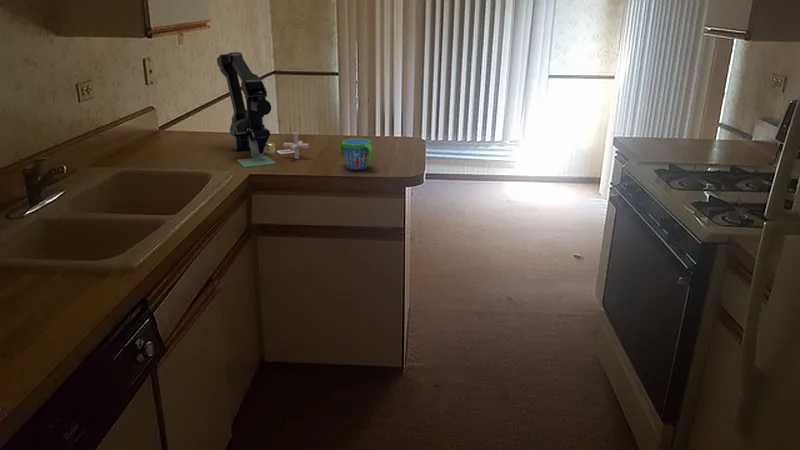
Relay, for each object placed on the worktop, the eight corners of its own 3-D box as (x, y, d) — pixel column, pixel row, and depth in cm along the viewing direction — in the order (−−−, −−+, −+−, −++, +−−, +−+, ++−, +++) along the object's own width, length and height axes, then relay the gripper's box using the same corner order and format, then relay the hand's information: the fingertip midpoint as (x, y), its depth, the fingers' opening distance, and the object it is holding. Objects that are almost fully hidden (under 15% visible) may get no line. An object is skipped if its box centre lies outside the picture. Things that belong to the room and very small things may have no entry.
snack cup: (333, 166, 231) (331, 140, 228) (354, 162, 238) (354, 135, 235) (360, 175, 221) (359, 146, 217) (382, 169, 228) (381, 142, 224)
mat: (236, 160, 240) (236, 159, 240) (267, 157, 246) (267, 156, 245) (244, 167, 230) (244, 166, 230) (275, 164, 236) (275, 163, 235)
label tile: (276, 151, 254) (276, 150, 254) (295, 149, 258) (295, 148, 258) (280, 154, 250) (280, 153, 250) (299, 152, 254) (299, 151, 254)
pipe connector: (304, 161, 238) (303, 136, 235) (280, 160, 240) (278, 135, 237) (313, 155, 248) (312, 130, 244) (289, 154, 250) (288, 130, 246)
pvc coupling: (249, 155, 248) (248, 140, 246) (261, 154, 250) (260, 139, 248) (252, 158, 244) (251, 143, 242) (264, 156, 246) (263, 141, 244)
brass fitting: (264, 152, 253) (263, 143, 251) (273, 151, 254) (273, 142, 253) (266, 155, 249) (266, 145, 248) (276, 153, 251) (275, 144, 250)
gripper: (228, 109, 244) (231, 148, 250) (239, 117, 229) (243, 158, 234) (256, 107, 249) (259, 145, 254) (269, 114, 233) (272, 155, 239)
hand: (257, 151), depth 245 cm, fingers open, 9 cm apart
